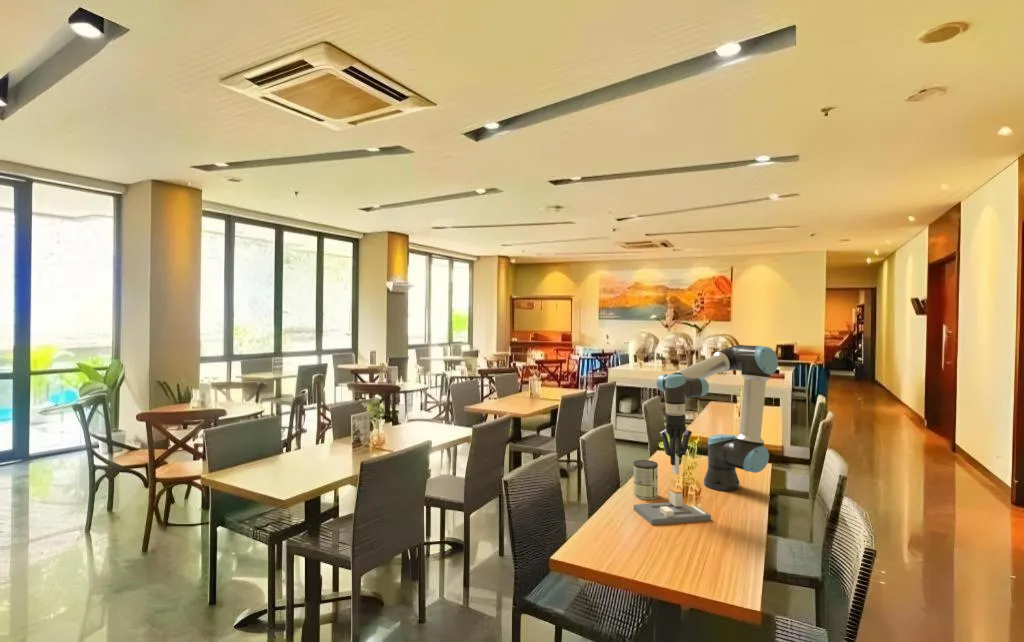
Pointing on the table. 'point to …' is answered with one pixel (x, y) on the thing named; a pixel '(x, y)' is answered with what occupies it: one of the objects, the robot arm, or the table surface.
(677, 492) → the handle
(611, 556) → the table surface
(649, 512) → the panel
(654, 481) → the coffee can
